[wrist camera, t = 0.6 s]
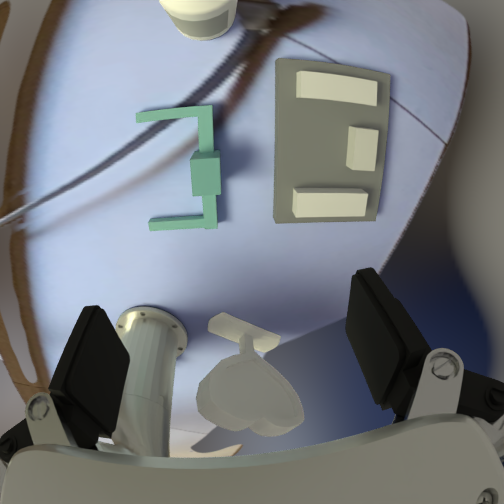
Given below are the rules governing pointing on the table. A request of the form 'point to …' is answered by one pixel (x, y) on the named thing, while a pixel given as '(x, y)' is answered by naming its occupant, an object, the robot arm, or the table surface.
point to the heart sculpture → (248, 384)
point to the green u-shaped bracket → (194, 168)
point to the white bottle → (201, 17)
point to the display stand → (328, 141)
